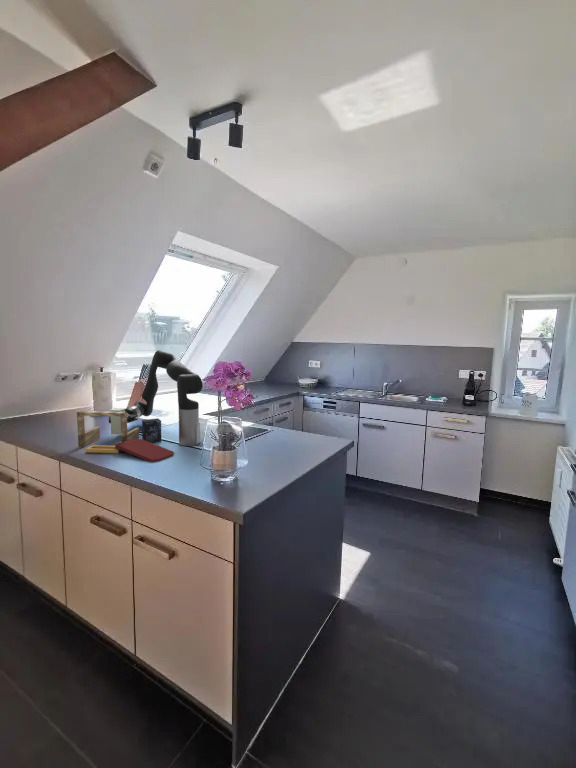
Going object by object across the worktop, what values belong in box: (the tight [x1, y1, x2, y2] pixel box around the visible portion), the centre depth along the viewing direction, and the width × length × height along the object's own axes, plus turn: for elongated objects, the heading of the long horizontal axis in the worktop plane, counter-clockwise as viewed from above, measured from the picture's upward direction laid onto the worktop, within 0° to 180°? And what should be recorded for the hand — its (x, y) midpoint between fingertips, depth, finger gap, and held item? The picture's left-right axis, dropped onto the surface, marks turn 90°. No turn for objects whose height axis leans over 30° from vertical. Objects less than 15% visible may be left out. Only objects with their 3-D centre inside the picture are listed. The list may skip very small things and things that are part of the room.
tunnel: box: [76, 410, 140, 449], centre depth 174 cm, size 21×16×16 cm
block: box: [109, 407, 126, 436], centre depth 183 cm, size 5×5×12 cm
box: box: [141, 418, 162, 443], centre depth 180 cm, size 8×6×11 cm
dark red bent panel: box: [114, 438, 175, 463], centre depth 161 cm, size 12×5×26 cm
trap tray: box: [85, 444, 121, 455], centre depth 163 cm, size 14×6×2 cm, turn 89°
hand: (115, 421), depth 180 cm, fingers closed on block, 5 cm apart
